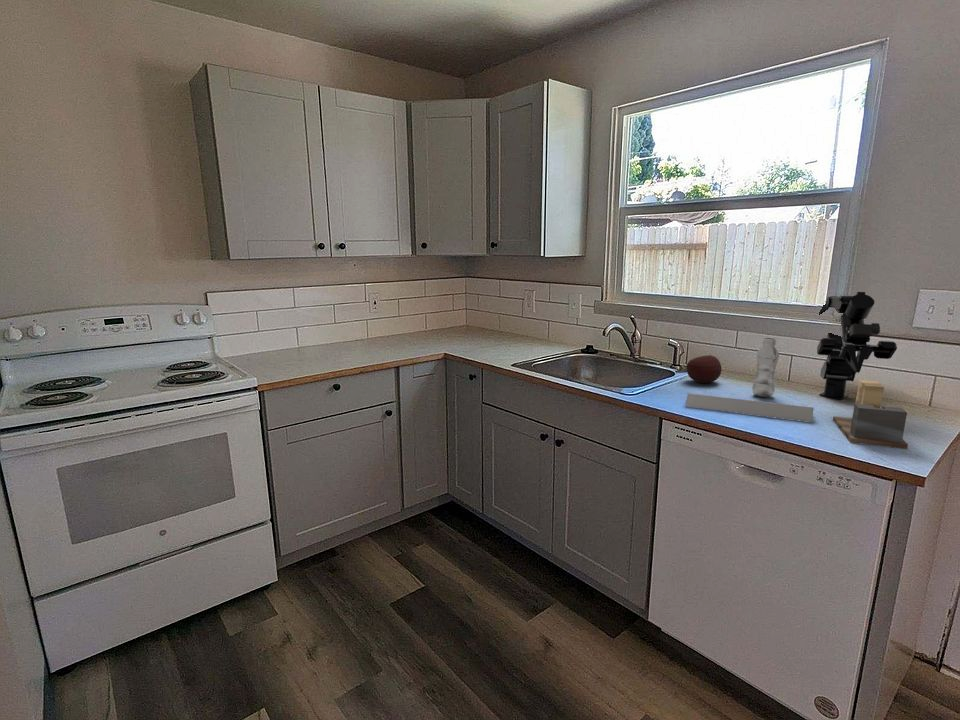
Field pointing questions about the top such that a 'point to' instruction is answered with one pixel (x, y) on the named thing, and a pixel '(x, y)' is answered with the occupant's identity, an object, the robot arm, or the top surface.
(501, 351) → the top surface
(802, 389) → the top surface
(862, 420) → the walnut sill
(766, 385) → the plastic bottle
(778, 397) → the top surface
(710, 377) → the potato
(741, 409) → the decorative molding
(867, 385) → the pale yellow box
